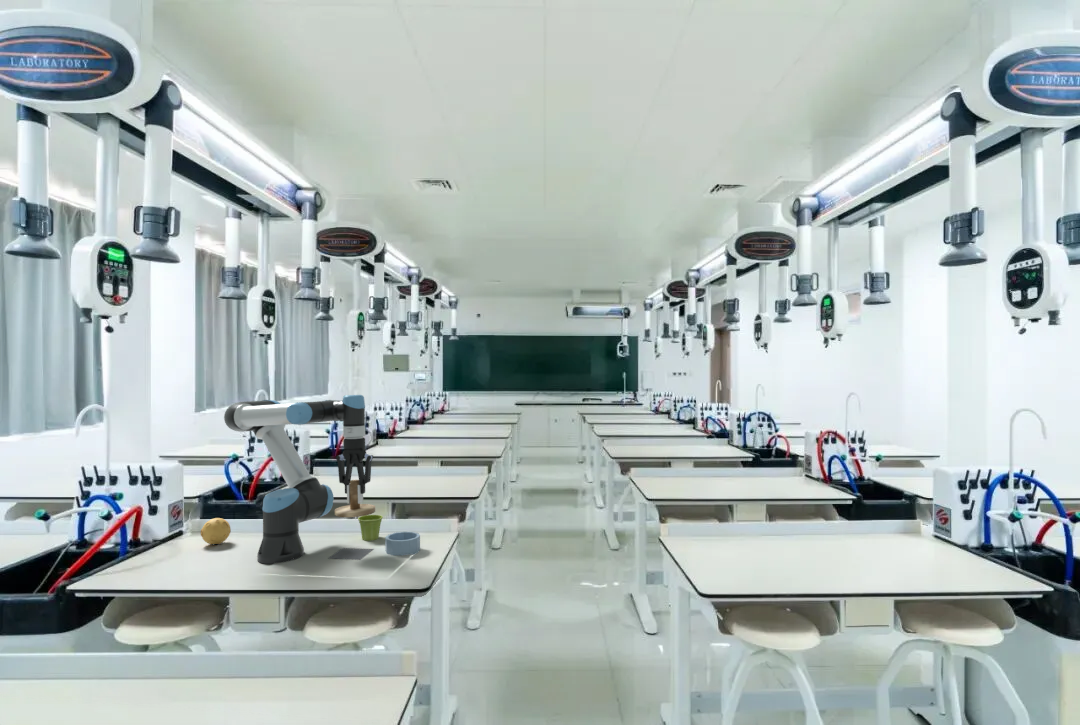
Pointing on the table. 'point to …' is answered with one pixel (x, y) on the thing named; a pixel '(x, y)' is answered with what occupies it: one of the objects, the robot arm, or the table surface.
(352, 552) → the mat
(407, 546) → the bowl
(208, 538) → the potato
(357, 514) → the lid
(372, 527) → the plant pot
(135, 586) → the table surface
